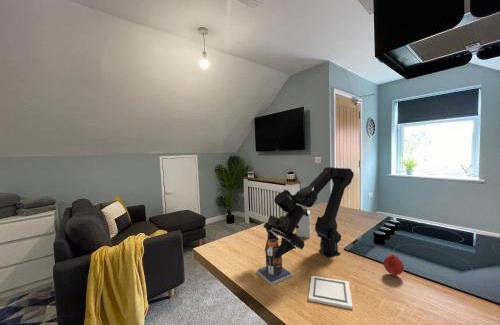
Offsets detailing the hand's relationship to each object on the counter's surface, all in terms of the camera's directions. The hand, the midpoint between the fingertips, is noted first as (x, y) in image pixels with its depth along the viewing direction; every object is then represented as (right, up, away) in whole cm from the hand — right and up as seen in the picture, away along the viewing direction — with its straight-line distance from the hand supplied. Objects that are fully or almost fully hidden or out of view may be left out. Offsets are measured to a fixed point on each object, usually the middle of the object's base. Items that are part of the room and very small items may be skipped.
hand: (270, 254), depth 76 cm
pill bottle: (+2, -7, +1) cm, 7 cm away
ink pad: (+1, -8, +1) cm, 8 cm away
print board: (+18, -7, -10) cm, 22 cm away
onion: (+43, -6, -3) cm, 44 cm away
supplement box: (+22, -6, +36) cm, 43 cm away
